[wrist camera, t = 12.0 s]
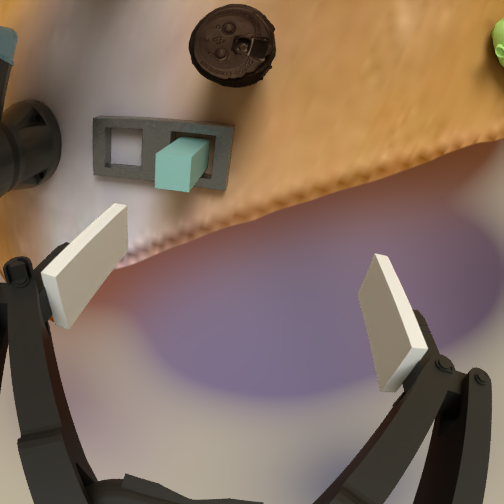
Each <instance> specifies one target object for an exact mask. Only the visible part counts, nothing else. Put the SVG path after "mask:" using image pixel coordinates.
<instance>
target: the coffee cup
mask: <svg viewBox="0 0 504 504" xmlns="http://www.w3.org/2000/svg"><path fill="white" fill-rule="evenodd" d="M274 30H275V28H274V26H273V25H272V24H271V23H270V21H269V20H268V19H267V18H266V16H265V15H263V14H262V13H261V12H260V11H259V10H257V9H255V8H253V7H250V6H247V5H243V4H229V5H226V6H223V7H220V8H217V9H215V10H213V11H212V12H210V13H209V14H207V15H206V16H205V17H204V18H203V19H202V20H200V21H199V23H198V24H197V26H196V27H195V29H194V30H193V32H192V34H191V38H190V41H189V52H190V55H191V60H192V64H193V65H194V66H195V68H196V69H197V70H198V72H199V73H200V74H201V75H203V76H204V77H205V78H207V79H209V80H211V81H214V82H216V83H218V84H220V85H222V86H227V87H234V88H237V87H238V88H240V87H246V86H250V85H252V84H255V83H257V82H258V81H259V80H263V77H264V76H265V75H266V73H267V72H268V71H269V69H271V68H272V66H271V63H272V60H273V59H274V57H275V54H276V46H275V37H274Z"/></svg>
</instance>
